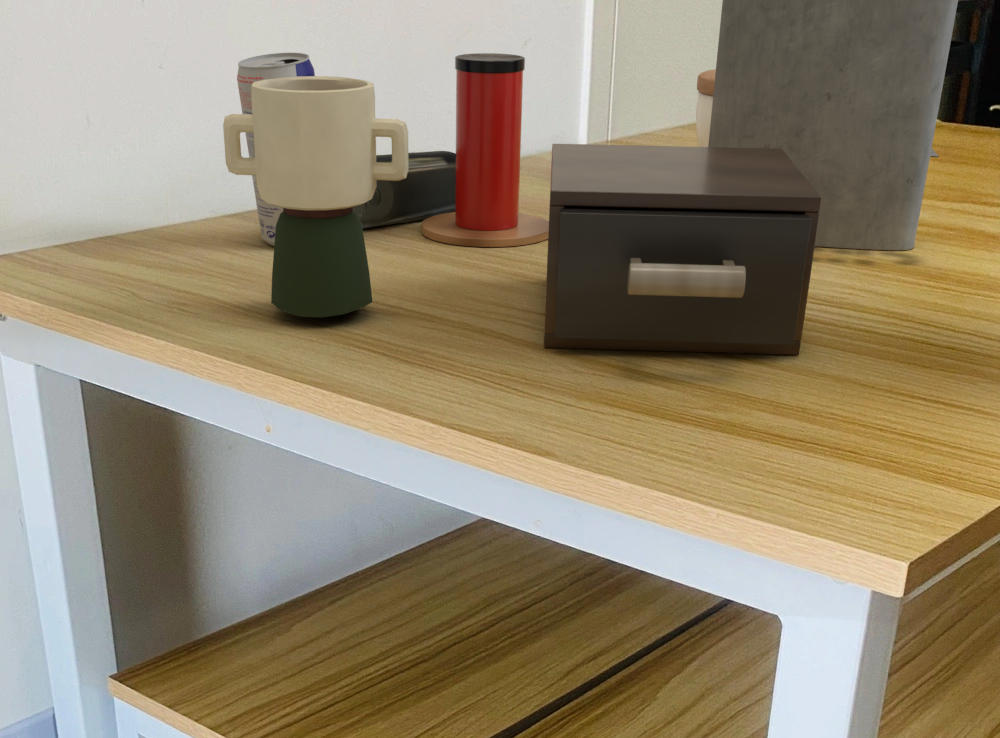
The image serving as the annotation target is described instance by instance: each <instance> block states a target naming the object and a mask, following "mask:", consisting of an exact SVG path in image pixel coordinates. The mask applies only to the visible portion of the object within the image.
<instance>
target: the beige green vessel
mask: <svg viewBox="0 0 1000 738" xmlns="http://www.w3.org/2000/svg"><path fill="white" fill-rule="evenodd" d="M251 101H252V115H251V114H242V113H230V114H227V115H225V116H224V119H223V124H222V128H223V129H222V130H223V144H224V156H225V157H224V158H225V165H226V167H227V170H228V173H231V174H234V175H236V176H238V175H239V176H252V175H256V179H257V188H258V191H259V194H260V197H261V199H262V200H264V201H265V202H267V203H269V204H271V205H274V206H278V207H282V208H283V212H282V213H280V216H279V218H278V221H277V223H276V229H275V243H274V246H273V259H272V272H271V294H270V295H271V296H270V297H271V300H270V303H271V304H272V305H273V306H274V307H275V308H277V310H279V311H281V312H284V313H286V314H291V315H294V316H296V317H304V318H321V319H322V318H328V317H334V316H335V317H336V316H339V315H342V316H348V315H349V314H350V313H351V312H354V311H357V310H361V309H364V308H365V307H366V306H368V305H370V304H372V303H373V293H372V284H371V276H370V268H369V262H368V255H367V249H366V243H365V242H366V241H365V235H364V231H363V230H364V228H363V229H362V223H361V221H360V219H359V217H358V215H357V213H356V212H355V211H353V207H354V206H359V205H361V204H363V203H365V202H367V201H369V200H371V199H372V197H373V195H374V192H375V189H376V187H377V180H391V181H399V180H402V179H405V178H406V177H407V173H408V170H409V167H408V153H409V129H408V126H407V122H406V121H403V120H401V119H398V118H376V95H375V85H374V82H371V81H368V80H364V79H358V78H351V77H343V76H341V77H340V76H329V75H315V76H300V77H284V78H276V79H267V80H261V81H257V82H253V84H252V86H251ZM245 132H251V133H254V147H255V158H249V157H243V156H242V146H241V144H242V143H241V133H245ZM377 138H390V139H391V154H392V162H391V163H381V162H376V155H377Z"/></svg>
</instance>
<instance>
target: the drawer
mask: <svg viewBox="0 0 1000 738" xmlns="http://www.w3.org/2000/svg"><path fill="white" fill-rule="evenodd" d="M810 226H811V218H810V217H809V215H806V214H791V212H785V211H744V210H703V209H662V208H621V207H579V206H570V209H561V212H560V233H559V254H558V275H557V297H556V318H555V338H561V339H596V340H630V341H665V342H699V343H733V344H768V345H794V341H795V334H796V327H797V319H798V312H799V305H800V298H801V291H802V284H803V276H804V269H805V262H806V255H807V248H808V241H809V233H810Z"/></svg>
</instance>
